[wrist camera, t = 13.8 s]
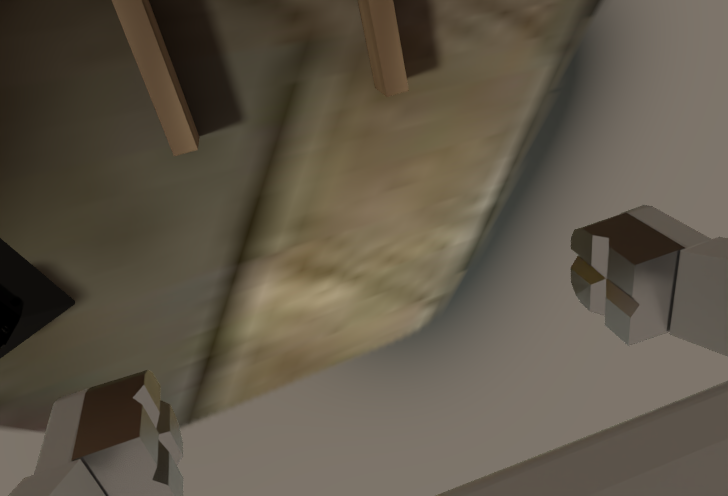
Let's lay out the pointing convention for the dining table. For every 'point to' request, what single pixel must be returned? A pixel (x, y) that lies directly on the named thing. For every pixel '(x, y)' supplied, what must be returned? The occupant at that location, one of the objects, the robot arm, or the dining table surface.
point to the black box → (25, 299)
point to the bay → (169, 94)
